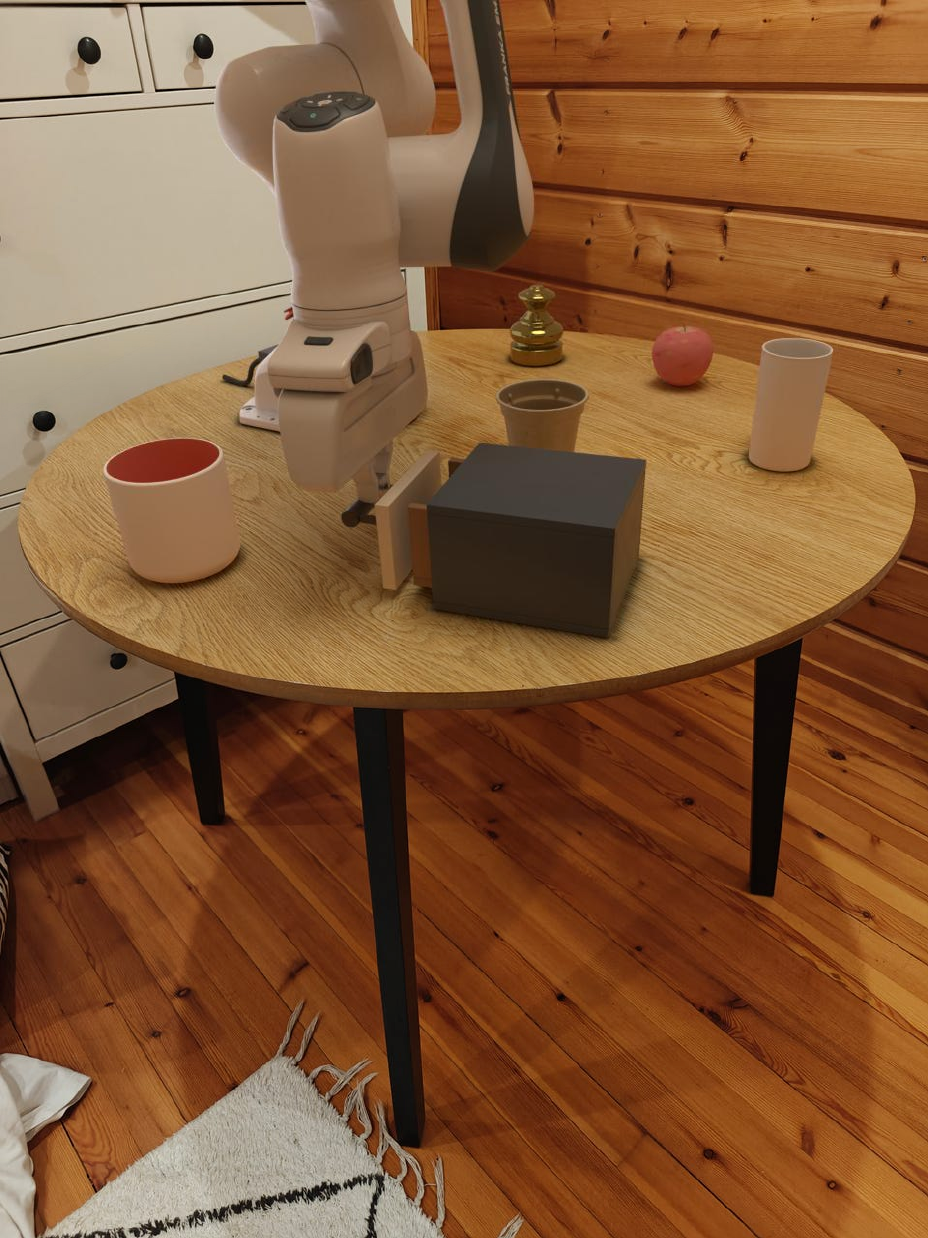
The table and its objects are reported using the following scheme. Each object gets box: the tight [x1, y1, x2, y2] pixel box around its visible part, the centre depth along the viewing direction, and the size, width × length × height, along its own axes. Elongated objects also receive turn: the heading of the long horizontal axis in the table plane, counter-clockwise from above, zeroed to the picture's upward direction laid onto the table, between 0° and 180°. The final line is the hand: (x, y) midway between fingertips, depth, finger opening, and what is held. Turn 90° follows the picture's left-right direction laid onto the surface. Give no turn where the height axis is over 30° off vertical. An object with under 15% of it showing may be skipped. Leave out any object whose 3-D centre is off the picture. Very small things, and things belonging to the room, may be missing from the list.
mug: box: [748, 337, 834, 473], centre depth 94 cm, size 10×7×12 cm, turn 3°
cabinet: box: [426, 442, 647, 639], centre depth 74 cm, size 15×13×10 cm
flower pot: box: [495, 378, 590, 452], centre depth 93 cm, size 9×9×9 cm
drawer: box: [340, 449, 466, 591], centre depth 77 cm, size 18×11×8 cm, turn 70°
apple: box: [651, 321, 714, 387], centre depth 115 cm, size 7×7×8 cm
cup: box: [102, 437, 241, 584], centre depth 80 cm, size 10×10×10 cm
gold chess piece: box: [509, 284, 564, 367], centre depth 125 cm, size 7×7×10 cm
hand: (374, 496), depth 78 cm, fingers closed, pressing on drawer
